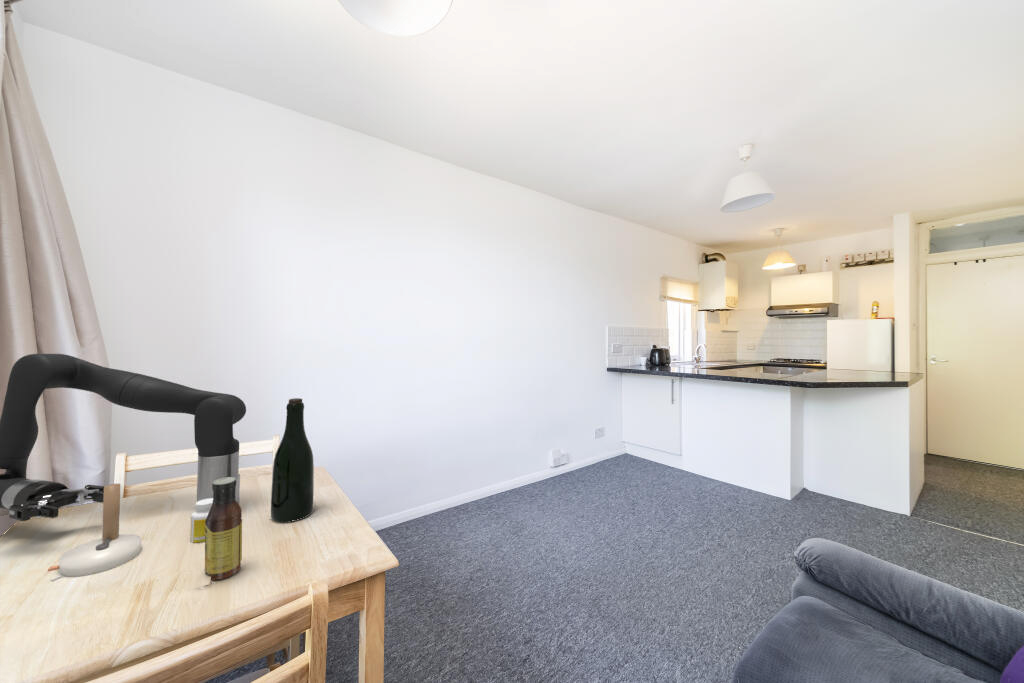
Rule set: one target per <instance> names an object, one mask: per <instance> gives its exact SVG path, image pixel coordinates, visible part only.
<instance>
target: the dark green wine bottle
mask: <svg viewBox="0 0 1024 683" xmlns="http://www.w3.org/2000/svg"><path fill="white" fill-rule="evenodd" d="M285 407H286V408H285V409H286V420H285V426H284V433H283V435H282V437H281V440H280V442H279V445H278V448H277V449H276V452H275V454H274V458H273V462H272V464H273V465H272V475H271V476H272V477H271V478H272V479H271V494H270V495H271V496H270V519H271V520H273V521H274V522H278V523H289V522H288V521H291V522H293V521H292V520H296V521H298V520H297V519H299V520H301V519H300V518H302V519H304V518H306V517H308V516H310V515H311V514H312V512H313V511H314V485H315V484H314V483H315V482H314V480H315V479H314V478H315V476H314V472H315V471H314V468H315V466H314V454H313V449H312V447H311V445H310V442H309V439H308V437H307V434H306V430H305V429H306V428H305V421H304V419H305V418H304V415H305V413H304V410H305V405H304V402H303V398H299V397H298V398H297V397H296V398H295V397H294V398H289V399H288V403H287V404H286V406H285ZM307 515H308V516H307ZM305 516H306V517H305ZM303 517H304V518H303Z"/></svg>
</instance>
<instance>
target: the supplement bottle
mask: <svg viewBox="0 0 1024 683" xmlns="http://www.w3.org/2000/svg"><path fill="white" fill-rule="evenodd" d="M212 504H213V498H209V499H204V500H200V501H198V502H197V501H196V502H195V504H194V509H195V511H194V512H192V514H191V516H190V533H189V542H190V543H191V544H201V543H205V521H206V518H207V516H208V513H209V511H210V508H211V506H212Z"/></svg>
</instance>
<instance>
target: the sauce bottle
mask: <svg viewBox="0 0 1024 683" xmlns="http://www.w3.org/2000/svg"><path fill="white" fill-rule="evenodd" d="M235 486H236V478H234V477H226V478H221V479H218V480H215V481H214V482H213V484H212V489H213V504H212V506H211V508H210V511H209V513H208V516H207V518H206V521H205V542H204V571H205V575H207V576H209V577H210V580H212V581H216V580H217V581H218V580H224V579H226V578H230V577H232V575H234V574H236V573H237V572H239V571H240V569H241V564H242V560H243V519H242V517H243V516H242V511H243V509H242V507H241V505H240V502H239V503H238V502H237V501H236V500H235V497H236V496H235Z"/></svg>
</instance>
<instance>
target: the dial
mask: <svg viewBox="0 0 1024 683" xmlns="http://www.w3.org/2000/svg"><path fill="white" fill-rule="evenodd" d="M103 486H104V485H103ZM102 504H103V505H102V528H101V529H102V534H101V535H102V536H101V537H100V538H97V539H93V540H90V541H87V542H84V543H82V544H79V545H77V546H75V547H73V548H71V549H69V550H67V551H66V552H64V553H63V554H62V555H61V556H60V557H59V558H58V559H59V560H58V562H59V563H58V565H59V569H58V574H59V576H60V575H62V576H63V577H67V578H73V577H74V578H76V577H83V576H88V575H93V574H97V573H100V572H104V571H107V570H111V569H114V568H117V567H119V566H122V565H123V564H125V563H127V562H129V561H131V560H133V559H134V558H136V557H137V556H139V554H140V553H141V550H142V537H141V536H140V535H138V534H133V533H129V534H128V533H126V534H120V509H121V508H120V507H121V483H112V484H106V485H105V486H104V498H103V503H102Z"/></svg>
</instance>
